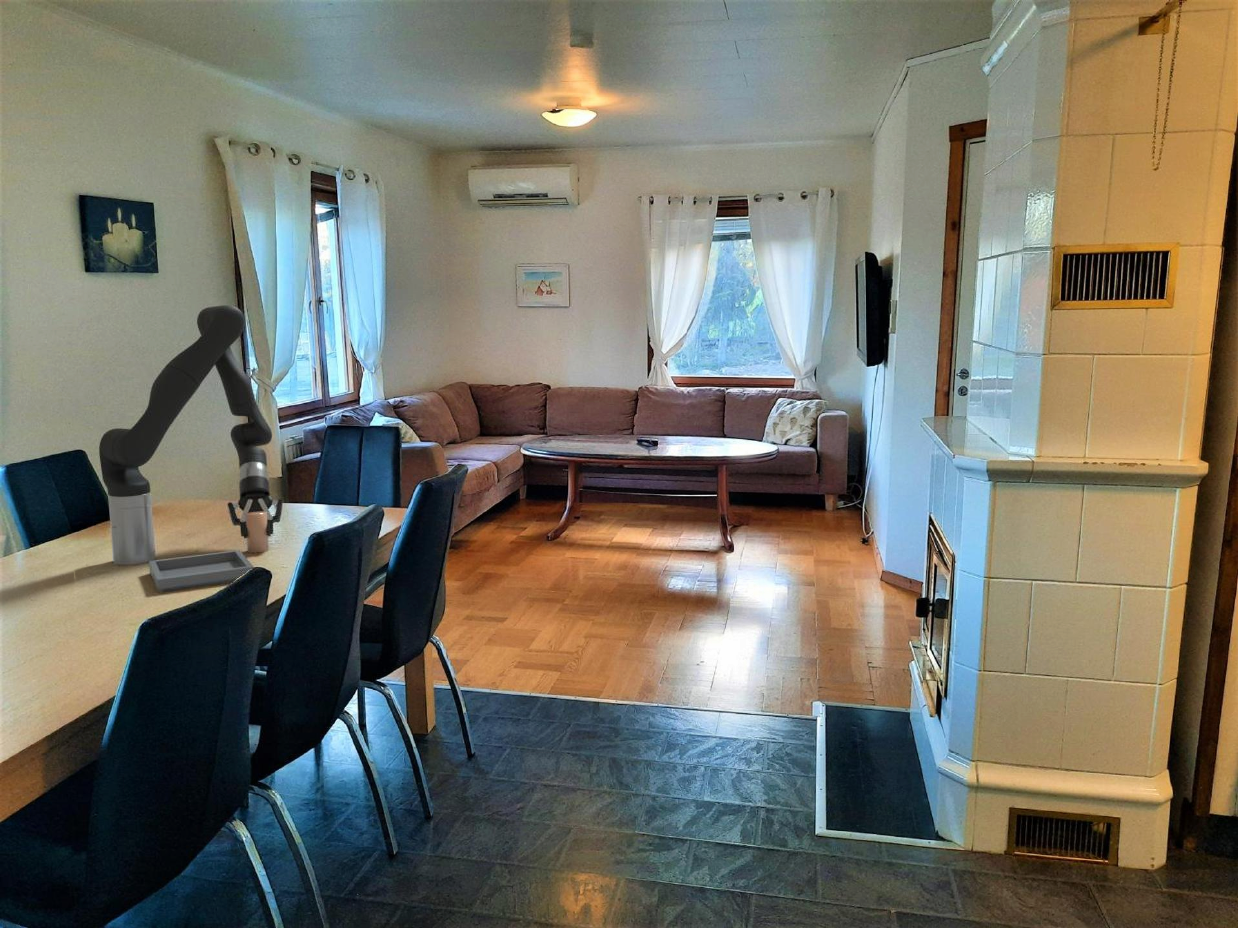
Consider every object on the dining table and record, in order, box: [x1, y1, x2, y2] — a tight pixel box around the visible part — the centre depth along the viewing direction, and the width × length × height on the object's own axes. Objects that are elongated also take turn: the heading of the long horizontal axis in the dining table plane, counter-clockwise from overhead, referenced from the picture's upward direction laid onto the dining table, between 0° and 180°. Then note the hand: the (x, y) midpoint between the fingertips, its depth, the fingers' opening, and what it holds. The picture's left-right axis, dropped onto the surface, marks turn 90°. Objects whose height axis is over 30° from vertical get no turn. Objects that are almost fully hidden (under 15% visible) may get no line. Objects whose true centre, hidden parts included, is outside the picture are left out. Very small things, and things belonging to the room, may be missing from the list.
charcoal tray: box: [148, 549, 255, 594], centre depth 206 cm, size 20×18×3 cm
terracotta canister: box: [245, 511, 270, 554], centre depth 229 cm, size 5×5×10 cm
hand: (257, 535), depth 227 cm, fingers closed on terracotta canister, 5 cm apart
